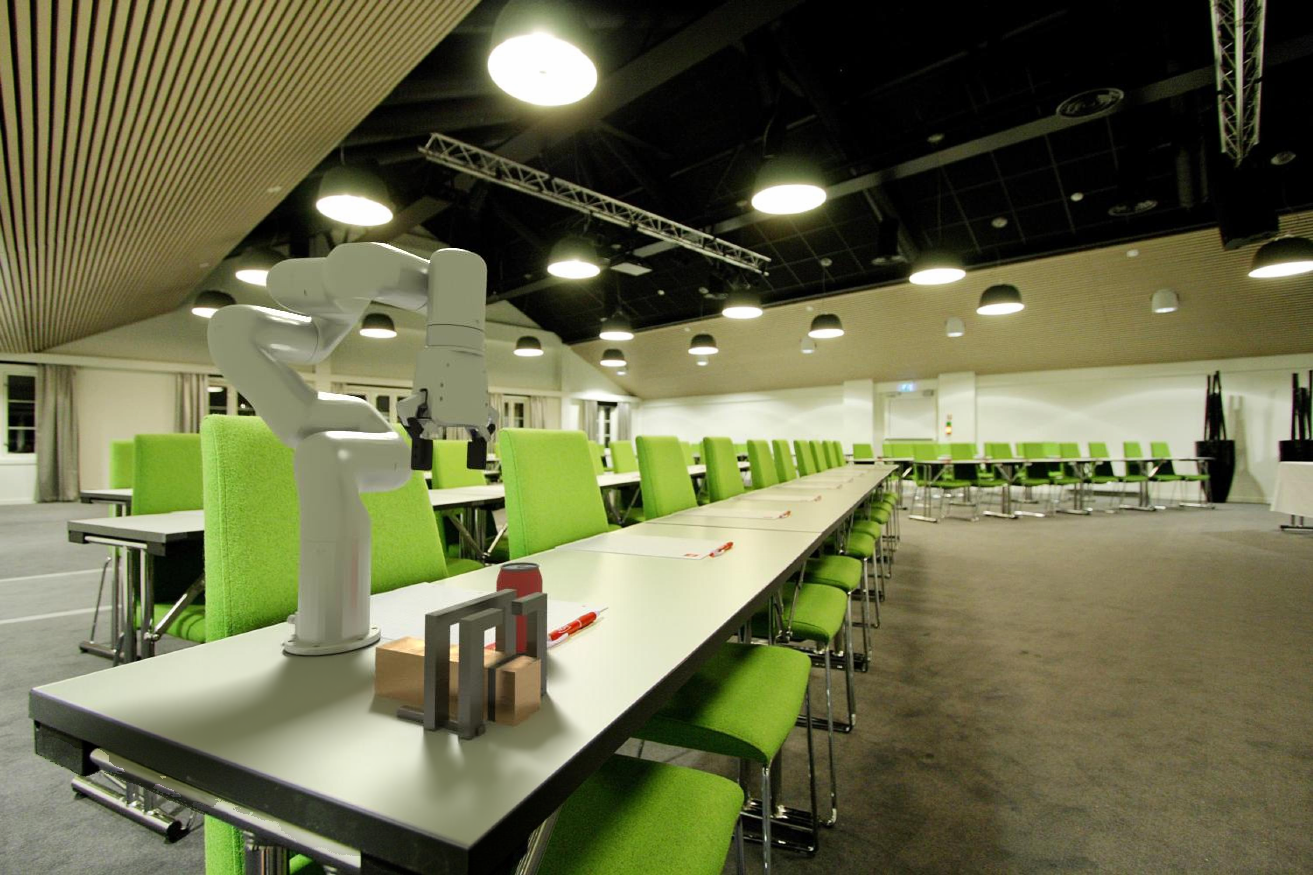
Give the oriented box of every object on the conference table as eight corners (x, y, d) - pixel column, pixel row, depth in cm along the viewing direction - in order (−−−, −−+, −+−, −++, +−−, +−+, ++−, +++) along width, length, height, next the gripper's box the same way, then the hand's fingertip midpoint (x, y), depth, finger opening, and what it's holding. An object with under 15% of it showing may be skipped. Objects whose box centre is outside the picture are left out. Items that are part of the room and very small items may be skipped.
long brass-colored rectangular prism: (374, 694, 68) (375, 647, 68) (405, 681, 72) (406, 636, 72) (514, 726, 60) (515, 672, 60) (540, 709, 64) (540, 658, 64)
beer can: (530, 657, 80) (531, 570, 81) (486, 654, 82) (487, 568, 82) (549, 643, 87) (549, 562, 87) (508, 640, 88) (509, 560, 88)
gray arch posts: (389, 720, 61) (391, 609, 61) (474, 677, 73) (476, 585, 73) (471, 740, 56) (472, 621, 57) (548, 691, 68) (549, 593, 69)
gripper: (479, 355, 88) (475, 468, 88) (381, 333, 73) (375, 469, 72) (518, 353, 85) (514, 470, 85) (424, 329, 70) (418, 472, 69)
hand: (450, 469), depth 78 cm, fingers open, 9 cm apart
